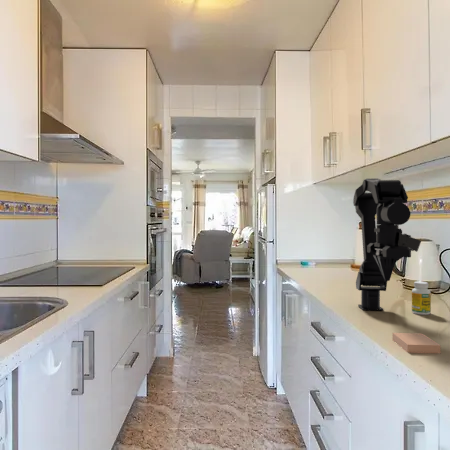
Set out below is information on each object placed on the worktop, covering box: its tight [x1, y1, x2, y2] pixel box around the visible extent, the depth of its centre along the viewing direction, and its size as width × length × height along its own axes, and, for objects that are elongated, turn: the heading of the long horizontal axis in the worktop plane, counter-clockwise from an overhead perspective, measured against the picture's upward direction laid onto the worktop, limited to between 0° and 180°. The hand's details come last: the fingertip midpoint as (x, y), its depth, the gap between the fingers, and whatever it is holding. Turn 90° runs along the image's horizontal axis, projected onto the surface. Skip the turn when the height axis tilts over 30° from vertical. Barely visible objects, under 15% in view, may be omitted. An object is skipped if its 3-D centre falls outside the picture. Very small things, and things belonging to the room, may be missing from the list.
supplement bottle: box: [411, 281, 432, 316], centre depth 124 cm, size 5×5×10 cm
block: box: [391, 332, 441, 354], centre depth 91 cm, size 2×7×9 cm
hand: (387, 280), depth 111 cm, fingers closed
